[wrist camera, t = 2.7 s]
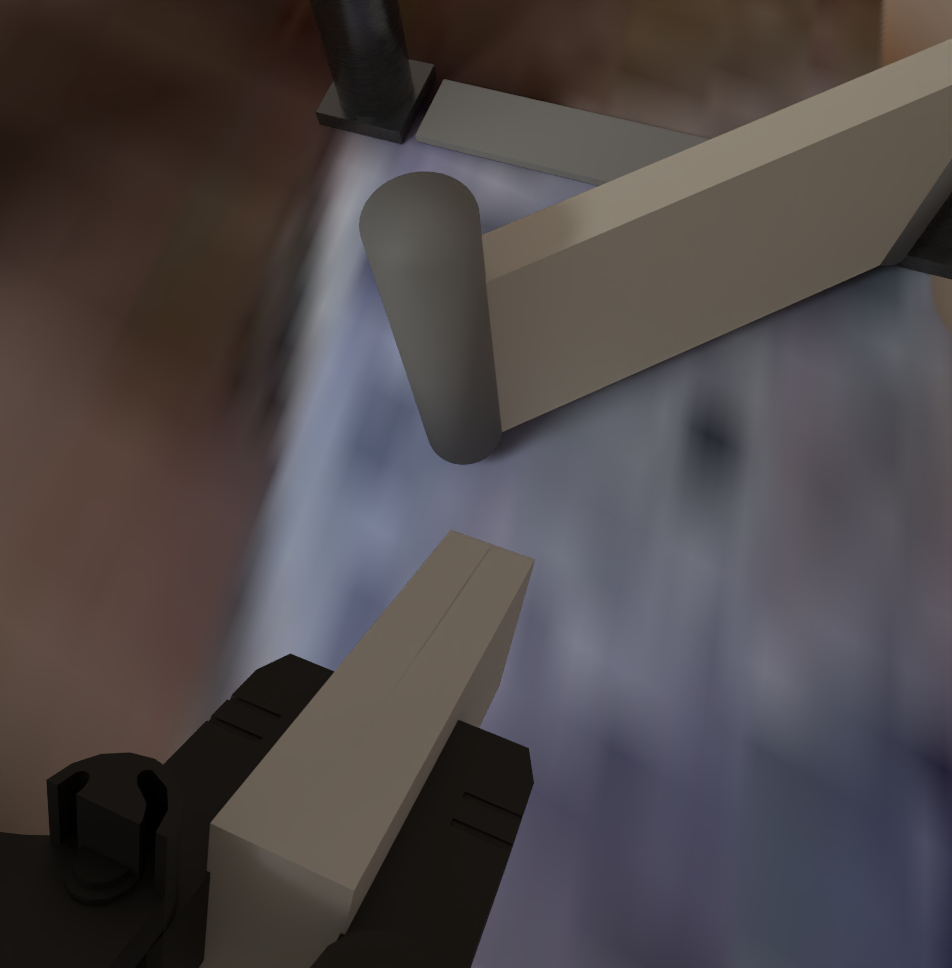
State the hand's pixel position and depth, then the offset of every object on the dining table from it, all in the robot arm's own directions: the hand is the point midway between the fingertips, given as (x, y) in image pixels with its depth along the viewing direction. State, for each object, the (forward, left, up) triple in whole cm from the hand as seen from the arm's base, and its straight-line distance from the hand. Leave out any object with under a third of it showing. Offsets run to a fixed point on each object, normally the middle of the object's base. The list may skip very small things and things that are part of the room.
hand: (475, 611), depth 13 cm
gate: (0, +12, -9) cm, 15 cm away
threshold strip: (-5, +19, -10) cm, 22 cm away
